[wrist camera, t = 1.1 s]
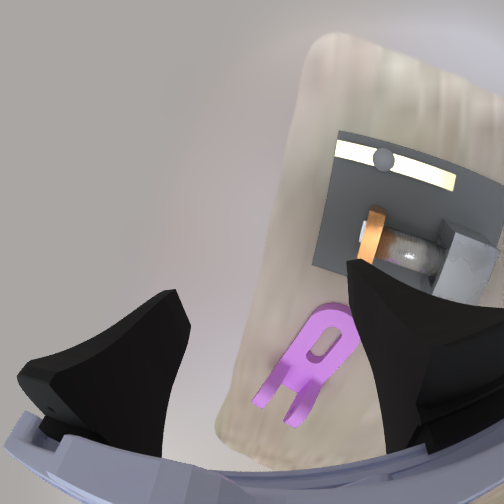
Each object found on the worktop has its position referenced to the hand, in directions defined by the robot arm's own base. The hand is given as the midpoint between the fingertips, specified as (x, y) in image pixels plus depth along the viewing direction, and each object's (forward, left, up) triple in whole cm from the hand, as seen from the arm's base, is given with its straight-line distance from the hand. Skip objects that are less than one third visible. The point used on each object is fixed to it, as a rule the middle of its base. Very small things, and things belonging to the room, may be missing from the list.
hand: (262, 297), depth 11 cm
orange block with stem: (-6, 0, -13) cm, 14 cm away
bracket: (-2, +14, -15) cm, 20 cm away
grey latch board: (-7, -2, -14) cm, 16 cm away
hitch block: (-9, 0, -14) cm, 17 cm away
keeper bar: (-4, -6, -13) cm, 15 cm away
